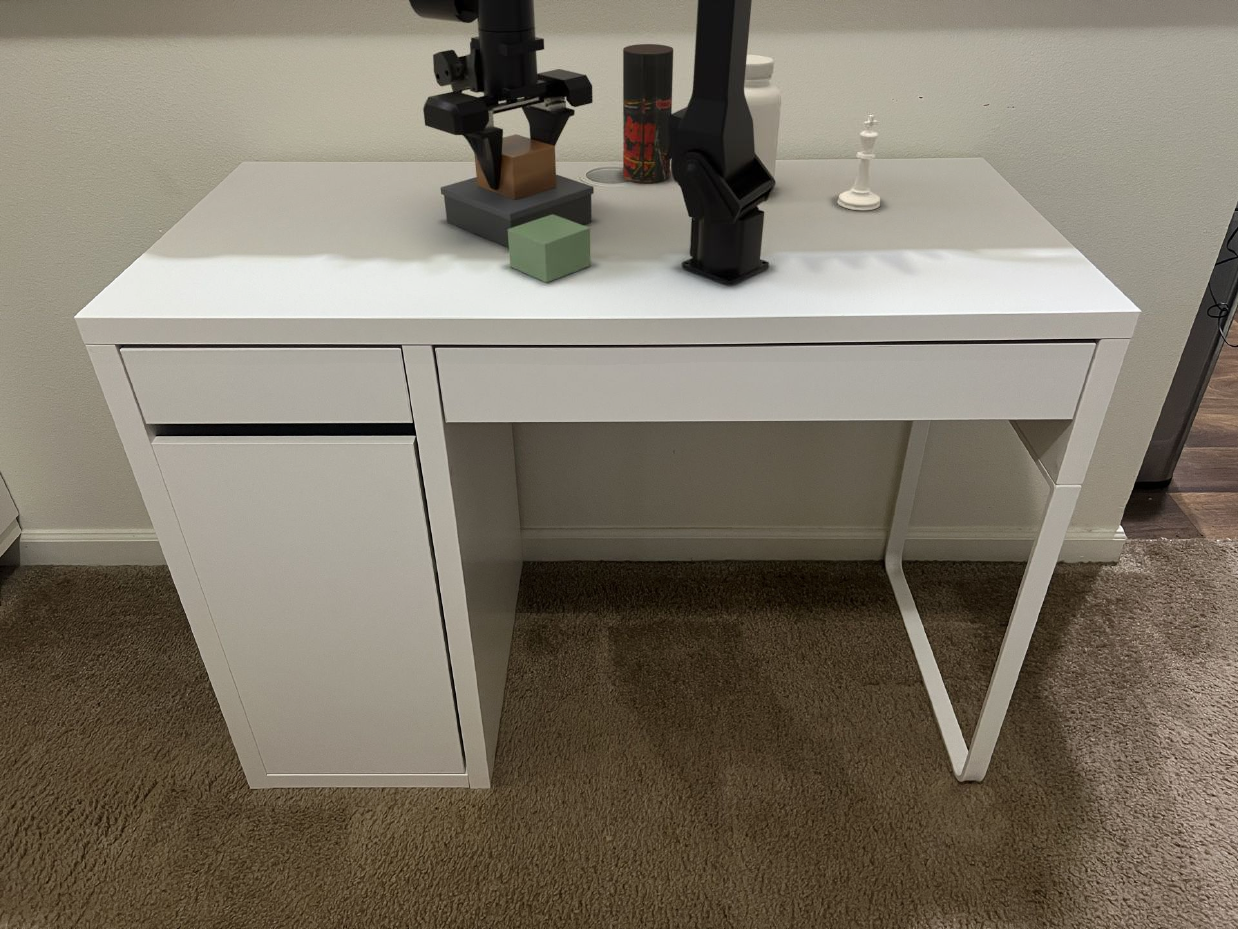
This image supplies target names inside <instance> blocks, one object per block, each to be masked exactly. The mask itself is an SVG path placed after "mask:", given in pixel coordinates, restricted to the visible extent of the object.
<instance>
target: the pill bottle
mask: <svg viewBox="0 0 1238 929" xmlns="http://www.w3.org/2000/svg"><path fill="white" fill-rule="evenodd" d="M774 65H775V61H774V59H773V58H772V57H769V56H764V55H758V54H747V60H746V71H745V82H744V94H745V98H746V101H747V104H748V107H749V110H750V113H751V116H752V119H753V129H754V146H755V153H756V155H757V156H758V157H759V159H760V160H761V162H762V163H763V164H764V166H765V167H766V168H767V170H768V171H769V172H770V174H771V175H772V177H773V178H774V179H775V177H776V176H775V174H776V163H777V152H778V143H779V132H780V131H779V130H780V120H781V107H782V93H781V90H780V89H779V87H778V86H777V85H775V83H772V82H770V81H771V80H772V79H773V74H774Z"/></svg>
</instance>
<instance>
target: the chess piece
mask: <svg viewBox="0 0 1238 929" xmlns="http://www.w3.org/2000/svg"><path fill="white" fill-rule="evenodd" d="M878 125H879V120H875V115H873V114H870V115H868V120H867V121H863V122H862V126H863V127H866V130H862V131H861V132H860V133H859V139H860V145H861V151H858V152H857V153H856V158H858V159H860V162H859V165H858V170H857V174H856V178H855V181H854V184H853V186H851V187H850V190H847V191H843V192H841V193H840V194H839V196H838V199H837V204H838V205H839V206H840V207H842V208H845V209H848V210H853V211H872V210H876V209H878V208H879V207H880V206H881V197H880V196H879V195H878V194H877V193H875V192H872V191H871V188H869V178H870V176H869V173H870V160H873V159H875V158H876V153H874V152H873V151H872V150H873V148H874V145H875V143H876V141H877V139H878V138H879V133H878V132H876V131H875V130H873V129H874V127H875V126H878Z"/></svg>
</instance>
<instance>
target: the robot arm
mask: <svg viewBox="0 0 1238 929" xmlns="http://www.w3.org/2000/svg"><path fill="white" fill-rule="evenodd" d="M408 2H409V4H410V6H411V8H412V10H413V12H414V13H415V14H416V15H417V16H419V17H421V18H423V19H430V20H439V21H447V22H455V23H464V24H471V23H473V22H475V21H476V20H477V33H478V34H477V35H478V36H473V37H470V42H469V50H470V52H469V53H468V54H465V55H461V56H458V55H457V52H456V51H455V50H454V49H447V50H443V51H439V52H436V53H434V54H432V60H433V64H432V65H433V74H434V77H435V81H436V84H437V85H439V86H440V87H441V88H442V87H446V86H450V87H451V89H452V91H449V92H445V93H440V94H436V95H430V96H428V97H427V99H426V101H425V103H424V104H423V107H422V111H423V117H424V118H423V120H424V126H425V127H428V128H430V129H431V128H432V129H435V130H437V131H440V132H441V131H442V132H445V133H448V134H451V135H453V136H462V137H463V138H464V139H465V140H466V141H467V143H468V145H469V146H470V148H471V150H472V152H473V154H474V153H475V155H476V158H477V160H478V162H479V164H480V167H481V169H482V171H483V173H484V175H485V178H486V180H487V182H488V184H489V187H490V188H491V189H494V190H497V189H499V183H500V177H501V160H502V142H503V138H504V128H501V127H497V126H495V121H494V115H496V114H501V113H504V112H509V111H513V110H517V109H521V110H522V112H523V114H524V116H525V118H526V120H527V122H528V126H529V138H530V139H533V140H537V141H540V142H543V143H547V144H550V145H553V146H555V147H556V145H557V143H558V141H559V138H560V137H561V135H562V133H563V131H564V129H565V127H566V125H567V124H568V121H569V120H570V118H571V117H573V116H575V112H576V110H575V109H573V108H577V107H578V108H579V107H582V106H586V105H590V104H593V102H594V101H593V100H594V99H593V98H594V97H593V84H592V83H591V80H590V79H589V77H588V75H586V74H583V73H579V72H576V71H575V72H574V71H570V70H565V69H561V68H557V69H552V70H547V71H542V72H538V60H537V52H539V51H544V50H545V38H542V37H537V36H536V19H535V17H536V16H535V0H408ZM752 2H753V0H697V8H696V9H697V10H696V11H697V12H696V24H695V25H696V27H695V42H694V43H695V44H694V60H693V61H694V63H693V75H692V76H693V77H692V78H693V79H692V92H691V95H690V99H689V101H688V103H687V106H686V107H683V108H681V109H679V110H677V111H675V112H672V114H670V115H669V120H668V132H669V147H668V151H667V154H666V156H665V160H669V159H670V173H671V176H672V178H673V179H672V180H673V181H674V182H675V183H677V185H678V186H679V188H680V190H681V194H682V197H683V201H684V205H685V209H686V212H687V215H688V217H689V218H691V220H690V239H689V240H690V242H689V256H690V257H691V258H688V259H687V260H684V261H682V263H681V268H682V269H684V270H686V271H690V272H693V273H695V274H698V275H701V276H703V277H705V278H709V279H712V280H714V281H716V282H720V283H721V284H723V285H729V286H731V285H735V284H736V283H739V282H741V281H743V280H745V279H748V278H749V277H752V276H754V275H756V274H758V273H760V272H762V271H764V270H766V269H767V270H768V269H769V268H770V262H769V261H767V260H765V259H762V258H761V254H762V242H763V234H764V233H763V232H764V231H763V230H764V221H765V211H764V210H762V209H759V205H761V204H762V203H763V202H767V201H768V200H769V199H770V197H771V195H772V193H773V190H774V188H775V186H776V184H777V183H776V182H777V181H776V179H775V177H774V178H773V177H772V175H771V174H770V172H769V171H768V170H767V168H766V167H765V166H764V164H763V163H762V162H761V160H760V159H759V157H758V156H757V155H756V153H755V146H754V129H753V119H752V116H751V113H750V110H749V107H748V104H747V101H746V98H745V94H744V82H745V71H746V60H747V55H748V47H749V35H750V25H751V14H752V13H751V12H752ZM468 90H469V91H470V92H472V93H476V94H478V93H482V94H483V95H482V96H475V95H471V94H468V93H464V91H468ZM567 103H568V104H569V105H570V107H573V108H570V107H567ZM475 155H474V156H475Z"/></svg>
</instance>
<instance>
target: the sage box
mask: <svg viewBox="0 0 1238 929" xmlns="http://www.w3.org/2000/svg"><path fill="white" fill-rule="evenodd" d="M508 241H509V248H508V251H509V252H508V254H509V266H510V268H511V269H514V270H516V271H519V272H521V273H524V274H526V275H528V276H529V277H532V278H535V279H537V280H540V281H542V282H543V283H546V284H548V283H550V282H553V281H555V280H558V279H560V278H563V277H565V276H568V275H571V274H573V273H576V272H578V271H581V270H583V269H586V268H588V267H591V266H592V262H591V261H592V260H591V259H592V258H591V256H592V255H591V227H589V226H586V225H584V224H583V225H580V224H578V223H575V222H572V221H570V220H567V219H564V218H561V217H559V216H556V215H553V214H552V215H549V216H546V217H543V218H540V219H537V220H534V221H531V222H528V223H525V224H522V225H519V226H516V227H513V228H510V229H508Z"/></svg>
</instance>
